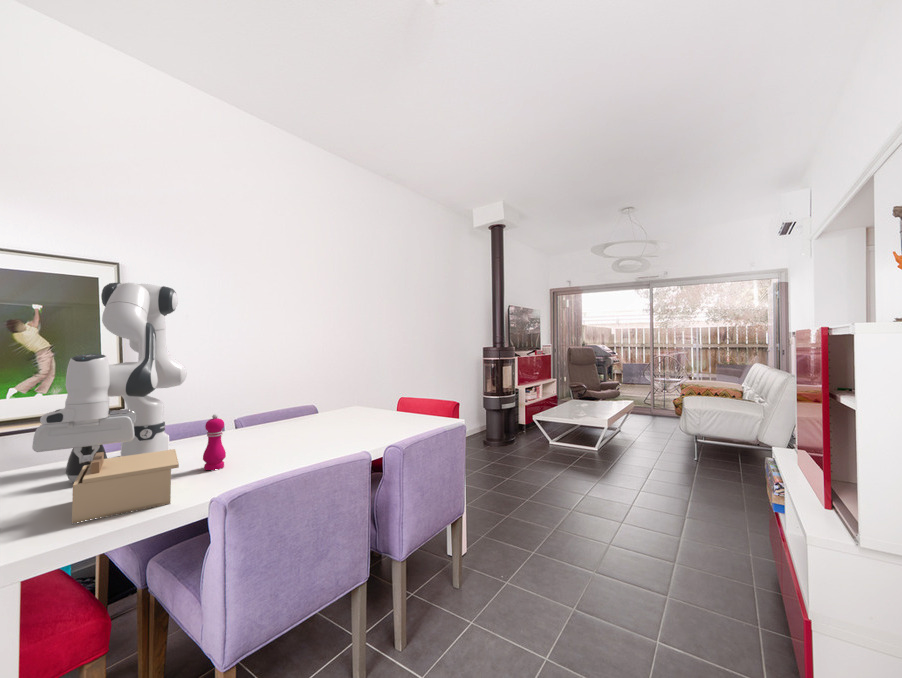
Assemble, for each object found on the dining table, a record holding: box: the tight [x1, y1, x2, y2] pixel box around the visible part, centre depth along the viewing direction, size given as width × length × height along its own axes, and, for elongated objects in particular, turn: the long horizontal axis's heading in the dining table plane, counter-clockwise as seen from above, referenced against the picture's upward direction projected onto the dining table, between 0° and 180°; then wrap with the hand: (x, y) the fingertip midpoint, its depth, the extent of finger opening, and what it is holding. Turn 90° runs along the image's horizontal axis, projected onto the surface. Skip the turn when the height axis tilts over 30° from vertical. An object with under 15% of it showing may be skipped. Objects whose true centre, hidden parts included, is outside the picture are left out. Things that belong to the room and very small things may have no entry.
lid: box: [82, 448, 180, 484], centre depth 110 cm, size 20×20×4 cm
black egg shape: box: [65, 444, 108, 484], centre depth 125 cm, size 10×10×15 cm
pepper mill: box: [202, 413, 227, 471], centre depth 139 cm, size 7×7×20 cm
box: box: [71, 465, 172, 524], centre depth 109 cm, size 20×20×10 cm
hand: (86, 462), depth 104 cm, fingers closed
